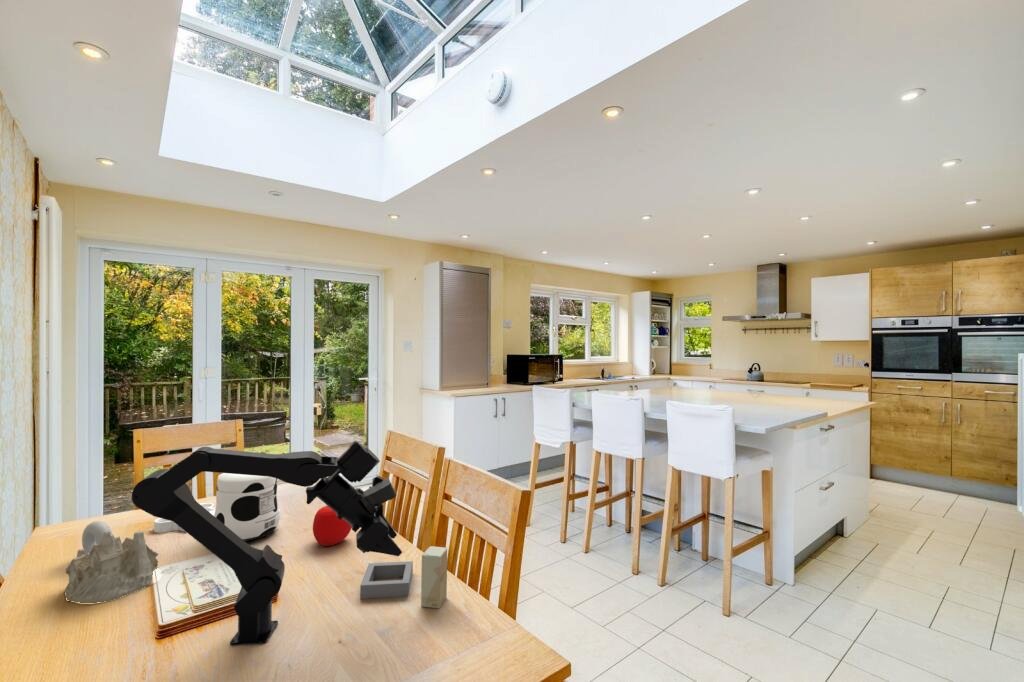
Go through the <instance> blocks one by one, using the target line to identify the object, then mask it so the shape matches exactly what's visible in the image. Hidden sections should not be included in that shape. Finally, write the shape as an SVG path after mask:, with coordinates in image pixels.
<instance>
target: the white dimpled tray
mask: <svg viewBox="0 0 1024 682" xmlns="http://www.w3.org/2000/svg"><path fill="white" fill-rule="evenodd" d="M199 504H200V505H201V506H202V507H204V508H205V509H206V510H207V511H208V512H210V513H211V514H212V515H213V516H214V513H215V510H216V507H215V504H214V503H213V502H205V503H203V502H202V503H199ZM172 531H181V532H185V531H184V530H183V529H182V528H181V527H179V526H178V525H177V524H176V523H174V522H172V521H170V520H166V519H162V518H158V517H157V518H156V519H155V520H153V532H154V533H156V534H157V533H159V534H163V533H169V532H172Z"/></svg>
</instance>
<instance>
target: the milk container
mask: <svg viewBox="0 0 1024 682" xmlns="http://www.w3.org/2000/svg"><path fill="white" fill-rule="evenodd" d="M277 493H278V479H277V478H273V477H268V476H256V475H243V474H231V473H221V474H219V475H218V476H217V481H216V492H215V497H216V498H215V499H216V504H215V508H216V510H215V513H214V517H216V518H217V519H218V520H219V521H221V522H222V523H223V524H224V525H225V526H227V527H228V528H229V529H230V530H231V531H233V532H234V533H235V534H236V535H237V536H239V537H240V538H241V539H242V540H244V541H245V542H247V541H252V540H257V539H260V538H263V537H265V536H268V535H269V534H271V533H272V532H274V531H275V529H277V528H278V525H279V523H280V519H281V511H280V506H279V503H278V494H277Z"/></svg>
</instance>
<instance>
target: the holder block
mask: <svg viewBox="0 0 1024 682" xmlns="http://www.w3.org/2000/svg"><path fill="white" fill-rule="evenodd" d="M413 563H414V560H413V561H412V560H410V561H408V560H407V561H392V562H391V561H388V562H372V563H371V562H370V563H368V565H367V567H366V569H365V573H364V575H363V577H362V581H361V583H360V587H359V589H360V594H359V595H360V598H359V599H361V600H363V599H364V600H365V599H366V600H369V599H382V598H383V599H384V598H400V597H401V598H402V597H403V598H405V597H409V595H410V590H411V586H412V585H411V584H412V578H413V573H414V572H413V571H414V569H413V568H414V567H413V565H414V564H413ZM400 576H401V577H400ZM402 576H403V577H402ZM388 577H391V578H402V579H394V580H393V579H392V580H391V579H390V580H375V581H374V579H389V578H388ZM410 585H411V586H410Z"/></svg>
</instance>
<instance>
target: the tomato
mask: <svg viewBox="0 0 1024 682" xmlns="http://www.w3.org/2000/svg"><path fill="white" fill-rule="evenodd" d="M312 522H313V523H312V533H313V537H314V539H315V541H317V543H318V544H320V545H322V546H325V547H326V546H327V547H328V546H335V545H337V544H339V543H341V542H343V541H344V540H345V539H346V538H347V537H348V535H349V534H350V533H351V531H352V526H351V525H350V524H349V523H348V522H346V521H345V520H344V519H343V518H342V519H341V520H340V519H339V518H337V513H336V512H335V511H333V510H332V509H331V508H330V507H329V506H327V505H325V506H322V507H321V508H319V509H317V511H316V513H315V515H314V518H313V521H312Z"/></svg>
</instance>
